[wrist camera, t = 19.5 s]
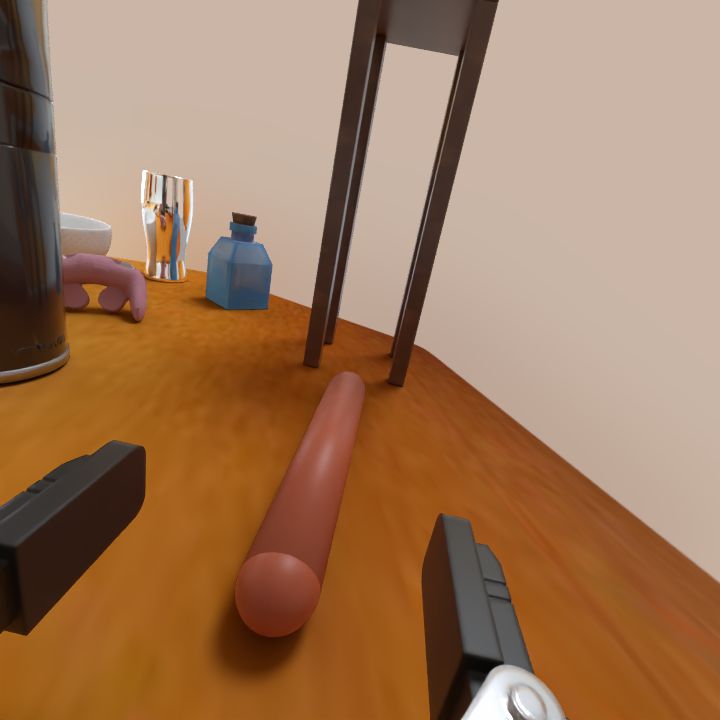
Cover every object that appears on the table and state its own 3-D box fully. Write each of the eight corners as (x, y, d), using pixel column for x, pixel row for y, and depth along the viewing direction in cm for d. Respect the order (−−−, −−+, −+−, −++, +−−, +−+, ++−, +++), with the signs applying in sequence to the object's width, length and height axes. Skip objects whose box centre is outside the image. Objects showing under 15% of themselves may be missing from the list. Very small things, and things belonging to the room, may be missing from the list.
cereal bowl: (-86, 271, 42) (-99, 202, 40) (-16, 250, 56) (-23, 198, 54) (100, 289, 49) (98, 231, 47) (121, 266, 63) (120, 221, 61)
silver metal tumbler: (141, 271, 63) (142, 170, 58) (188, 276, 66) (193, 181, 61) (139, 280, 57) (139, 169, 53) (190, 285, 61) (195, 180, 56)
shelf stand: (302, 365, 38) (368, -68, 28) (322, 338, 48) (376, 8, 37) (403, 386, 38) (509, -43, 27) (402, 355, 48) (481, 27, 37)
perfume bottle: (245, 297, 60) (252, 215, 56) (267, 308, 56) (277, 221, 52) (205, 297, 56) (211, 208, 52) (227, 309, 52) (234, 214, 48)
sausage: (306, 667, 13) (315, 600, 12) (218, 648, 13) (220, 581, 12) (364, 402, 33) (369, 369, 32) (329, 397, 33) (333, 363, 32)
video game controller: (147, 326, 44) (148, 266, 45) (145, 319, 40) (147, 253, 41) (36, 321, 40) (39, 254, 40) (22, 312, 36) (26, 238, 36)
